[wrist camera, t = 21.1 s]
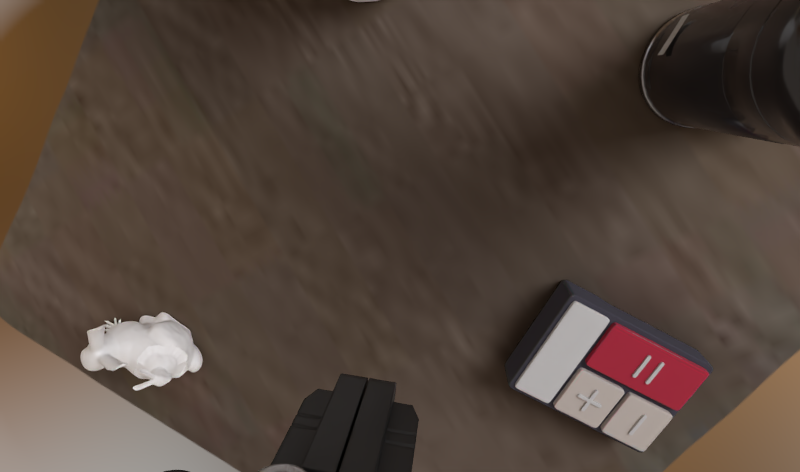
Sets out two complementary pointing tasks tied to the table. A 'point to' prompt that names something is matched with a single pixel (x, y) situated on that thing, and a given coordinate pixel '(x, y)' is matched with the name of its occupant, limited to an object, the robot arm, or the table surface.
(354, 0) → the honey pot
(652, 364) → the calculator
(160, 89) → the table surface
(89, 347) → the white lumpy figure
